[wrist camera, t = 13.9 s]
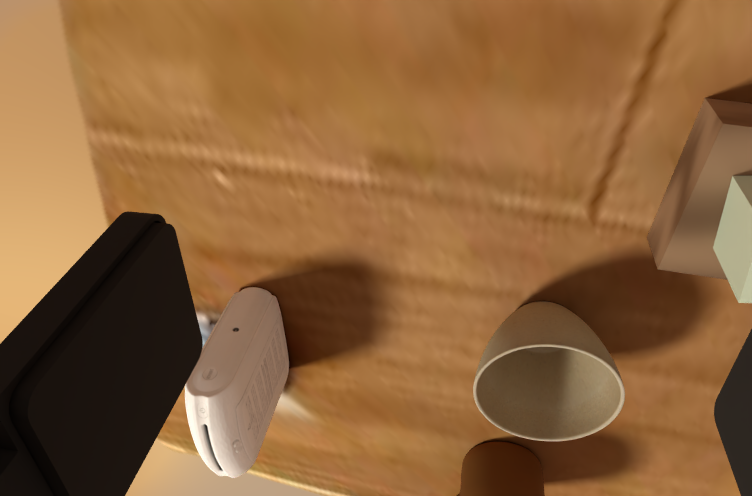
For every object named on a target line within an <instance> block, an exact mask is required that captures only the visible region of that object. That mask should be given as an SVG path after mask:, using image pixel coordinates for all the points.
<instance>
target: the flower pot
mask: <svg viewBox="0 0 752 496" xmlns="http://www.w3.org/2000/svg"><path fill="white" fill-rule="evenodd" d="M473 394H474V399H475V403H476V405H477V407H478V408H479V410H480V411H481V413H482V414H483V415H484V416H485V417H486V418H487V419H488V420H489V421H490V422H491V423H492V424H494V425H495V426H496V427H498V428H500V429H501V430H503V431H505V432H508V433H510V434H512V435H515V436H518V437H522V438H526V439H531V440H538V441H567V440H573V439H578V438H582V437H585V436H588V435H590V434H593V433H595V432H597V431H599V430H601V429H603V428H604V427H606V426H607V425H608V424H610V423H611V422H612V421H613V420H614V419H615V418H616V417H617V415H618V414H619V413H620V411H621V409H622V407H623V404H624V399H625V390H624V385H623V382H622V379H621V377H620V374H619V372H618V369H617V367H616V365H615V363H614V361H613V359H612V357H611V355H610V354H609V352H608V350H607V349H606V347H605V346H604V344H603V343H602V341H601V340H600V339H599V337H598V336H597V335H596V334H595V333H594V331H593V330H592V329H591V328H590V327H589V326H588V325H587V324H586V323H585V322H584V321H583V320H582V319H581V318H579V317H578V316H577V315H576V314H574V313H573V312H571V311H570V310H568V309H567V308H565V307H563V306H561V305H559V304H556V303H552V302H533V303H529V304H526V305H524V306H522V307H520V308H519V309H517V310H516V311H515V312H513V313H512V314H511V315H510V316H509V317H508V318H507V319H506V320H505V321H504V322H503V323H502V324H501V325H500V327H499V328H498V329H497V330H496V332H495V333H494V335H493V336H492V338H491V339H490V341H489V343H488V345H487V347H486V349H485V351H484V353H483V355H482V358H481V360H480V363H479V366H478V369H477V372H476V376H475V381H474V386H473Z"/></svg>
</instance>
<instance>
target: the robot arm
mask: <svg viewBox="0 0 752 496" xmlns="http://www.w3.org/2000/svg"><path fill="white" fill-rule="evenodd" d="M201 352H202V336H201V332H200V328H199V324H198V320H197V316H196V312H195V308H194V304H193V300H192V296H191V292H190V288H189V284H188V280H187V276H186V272H185V268H184V264H183V260H182V256H181V252H180V248H179V244H178V240H177V236H176V232H175V229H174V227H173V226H172V225H170V224H166V221H165V219H164V218H163V217H162V216H161V215H159V214H150V213H138V212H124V213H122V214H121V215H120V216H119V217H118V218H117V219H116V220H115V221H114V222H113V223H112V224H111V225H110V226H109V228H108V229H107V230H106V231H105V232H104V233H103V234H102V235H101V236H100V237H99V238H98V239H97V241H96V242H95V243H94V244H93V245H92V246H91V247H90V248H89V249H88V250H87V251H86V252H85V253H84V254H83V256H82V257H81V258H80V259H79V260H78V261H77V262H76V263H75V264H74V265H73V266H72V267H71V268H70V270H69V271H68V272H67V273H66V274H65V275H64V276H63V277H62V278H61V279H60V280H59V282H57V284H56V285H55V286H54V287H53V288H52V289H51V290H50V291H49V292H48V293H47V294H46V295H45V296H44V297H43V299H42V300H41V301H40V302H39V303H38V304H37V305H36V306H35V307H34V308H33V309H32V311H30V313H29V314H28V315H27V316H26V317H25V318H24V319H23V320H22V321H21V322H20V323H19V325H18V326H17V327H16V328H15V329H14V330H13V331H12V332H11V333H10V334H9V335H8V336H7V337H6V338H5V339H4V341H3V342H2V343H1V344H0V496H125V494H126V493H127V491H128V489H129V487H130V485H131V484H132V482H133V480H134V478H135V476H136V474H137V473H138V471H139V469H140V467H141V465H142V463H143V461H144V460H145V458H146V455H147V454H148V452H149V450H150V449H151V447H152V445H153V443H154V441H155V439H156V438H157V436H158V434H159V432H160V430H161V428H162V427H163V425H164V423H165V421H166V419H167V417H168V416H169V414H170V412H171V410H172V408H173V406H174V404H175V403H176V401H177V399H178V397H179V395H180V393H181V392H182V390H183V388H184V386H185V384H186V382H187V381H188V379H189V377H190V375H191V373H192V371H193V370H194V368H195V366H196V364H197V362H198V360H199V358H200V355H201ZM714 416H715V422H716V426H717V428H718V431H719V434H720V437H721V440H722V443H723V445H724V448H725V451H726V454H727V457H728V460H729V462H730V465H731V468H732V471H733V474H734V477H735V480H736V482H737V485H738V488H739V491H740V494H741V496H752V329H751V331H750V333H749V335H748V337H747V339H746V341H745V343H744V345H743V347H742V349H741V351H740V353H739V355H738V357H737V359H736V361H735V363H734V365H733V367H732V369H731V371H730V373H729V375H728V377H727V379H726V381H725V383H724V385H723V387H722V389H721V391H720V393H719V395H718V397H717V399H716V402H715V407H714Z"/></svg>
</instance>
